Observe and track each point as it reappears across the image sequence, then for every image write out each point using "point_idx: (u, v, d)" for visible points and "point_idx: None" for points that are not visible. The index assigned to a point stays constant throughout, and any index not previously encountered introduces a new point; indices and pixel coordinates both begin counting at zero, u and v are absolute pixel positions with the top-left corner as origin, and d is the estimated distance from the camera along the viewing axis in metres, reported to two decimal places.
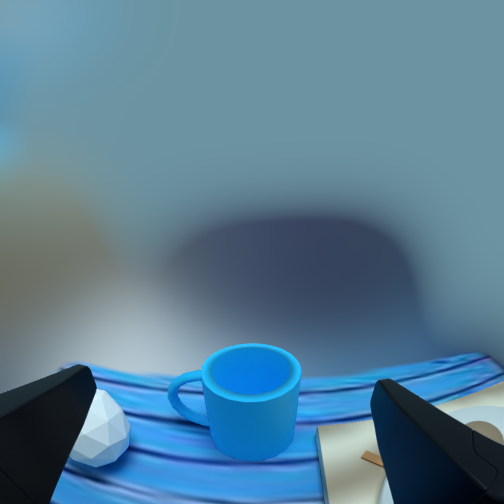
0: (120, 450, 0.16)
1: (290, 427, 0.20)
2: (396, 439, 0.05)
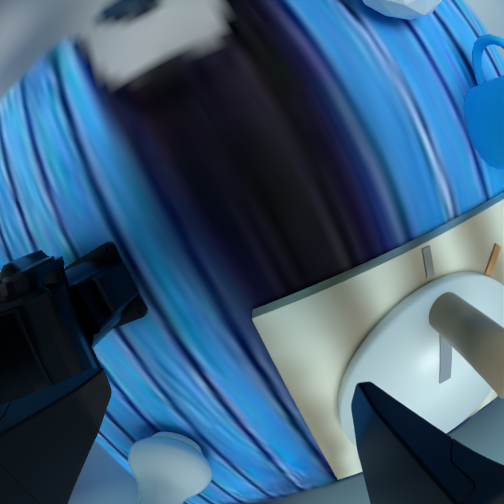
0: (406, 15, 0.12)
1: None
2: (373, 444, 0.05)
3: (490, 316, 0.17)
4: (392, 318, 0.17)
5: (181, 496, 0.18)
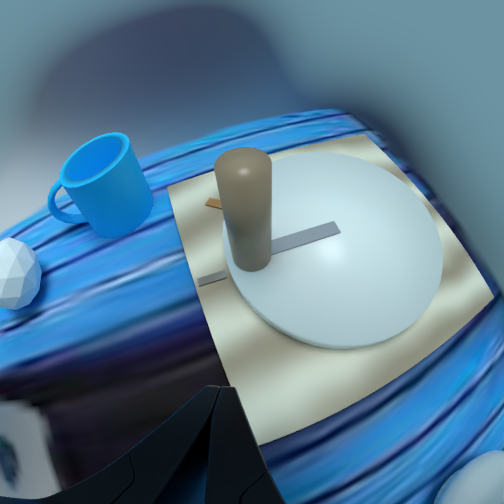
0: (35, 276, 0.22)
1: (141, 193, 0.27)
2: None
3: None
4: (256, 310, 0.20)
5: None
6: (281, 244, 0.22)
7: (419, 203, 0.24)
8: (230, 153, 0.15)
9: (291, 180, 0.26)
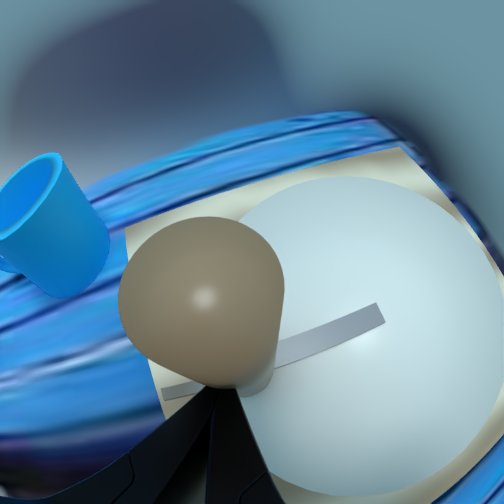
0: None
1: (86, 241, 0.17)
2: None
3: None
4: None
5: None
6: (291, 350, 0.12)
7: (483, 258, 0.14)
8: (167, 239, 0.05)
9: (309, 225, 0.16)
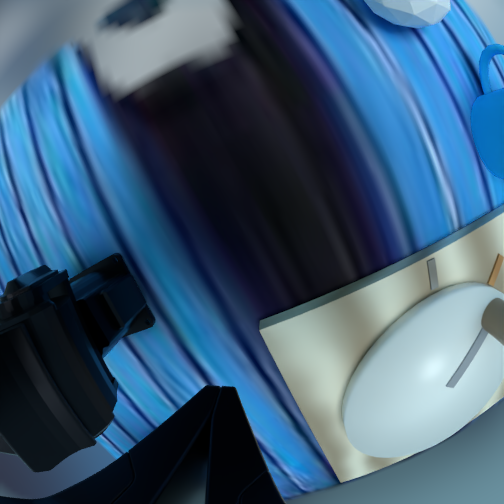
0: (414, 24, 0.12)
1: None
2: None
3: (499, 356, 0.17)
4: (469, 286, 0.16)
5: None
6: (480, 340, 0.17)
7: (387, 455, 0.20)
8: None
9: (488, 380, 0.18)
